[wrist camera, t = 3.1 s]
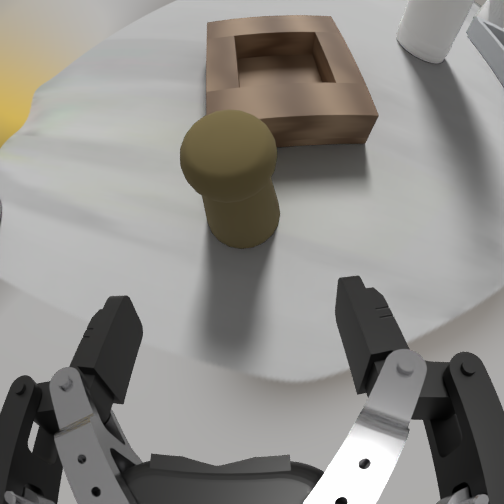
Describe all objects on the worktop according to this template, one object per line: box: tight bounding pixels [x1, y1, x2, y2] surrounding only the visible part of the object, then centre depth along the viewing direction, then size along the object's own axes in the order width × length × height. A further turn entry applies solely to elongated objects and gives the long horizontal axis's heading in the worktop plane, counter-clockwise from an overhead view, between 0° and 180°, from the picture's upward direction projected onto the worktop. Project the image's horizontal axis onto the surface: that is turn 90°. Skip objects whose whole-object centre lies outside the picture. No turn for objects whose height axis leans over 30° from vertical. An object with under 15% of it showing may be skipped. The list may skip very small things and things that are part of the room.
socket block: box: [206, 15, 379, 147], centre depth 25 cm, size 14×16×4 cm
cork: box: [180, 109, 280, 249], centre depth 19 cm, size 6×6×11 cm
